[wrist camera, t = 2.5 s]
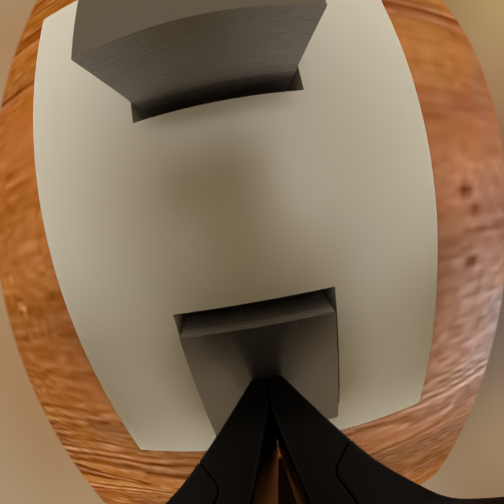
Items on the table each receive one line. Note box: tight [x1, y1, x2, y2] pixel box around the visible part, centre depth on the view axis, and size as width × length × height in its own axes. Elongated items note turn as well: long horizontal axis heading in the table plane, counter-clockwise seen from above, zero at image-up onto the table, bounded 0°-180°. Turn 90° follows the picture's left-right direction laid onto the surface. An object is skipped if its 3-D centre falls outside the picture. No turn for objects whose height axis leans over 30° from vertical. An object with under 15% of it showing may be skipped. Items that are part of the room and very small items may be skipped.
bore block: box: [33, 0, 438, 451], centre depth 9 cm, size 18×12×5 cm, turn 10°
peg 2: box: [179, 290, 338, 436], centre depth 10 cm, size 4×4×5 cm
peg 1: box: [71, 0, 327, 117], centre depth 5 cm, size 4×4×5 cm
